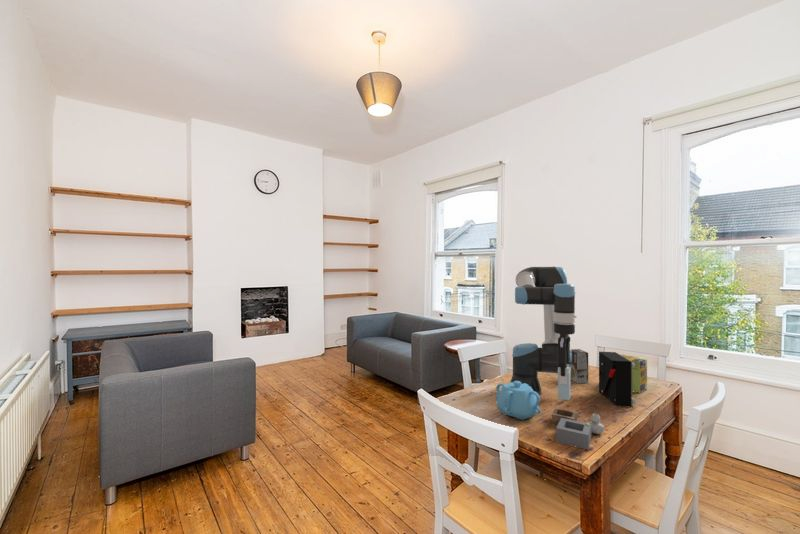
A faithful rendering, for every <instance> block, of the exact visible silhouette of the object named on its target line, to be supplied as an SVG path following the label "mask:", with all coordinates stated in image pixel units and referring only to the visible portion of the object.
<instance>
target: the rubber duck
mask: <svg viewBox="0 0 800 534" xmlns="http://www.w3.org/2000/svg"><path fill="white" fill-rule="evenodd" d="M587 423H589V424H591V434H595V435H600V434H602V433H603V432H604V431H605V426H604V424H602V423H601V417H600V415H599V414H598V413H597V414H596V412H593V413H592V414H591V416H590V421H588V422H587Z"/></svg>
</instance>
